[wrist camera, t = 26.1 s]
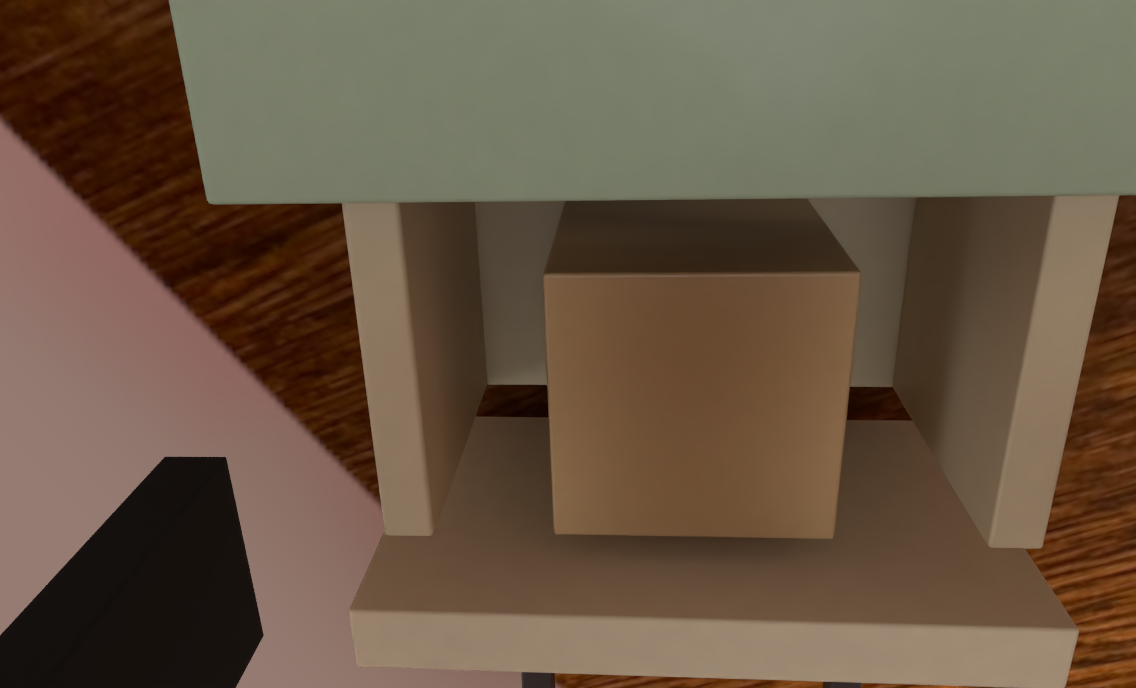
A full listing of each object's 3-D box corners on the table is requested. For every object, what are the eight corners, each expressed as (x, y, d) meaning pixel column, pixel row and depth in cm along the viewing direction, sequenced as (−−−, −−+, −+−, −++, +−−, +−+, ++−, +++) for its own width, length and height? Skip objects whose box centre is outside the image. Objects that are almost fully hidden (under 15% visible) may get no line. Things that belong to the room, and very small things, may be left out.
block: (572, 409, 19) (553, 535, 15) (565, 197, 17) (542, 273, 13) (790, 410, 19) (835, 541, 14) (806, 195, 17) (863, 271, 13)
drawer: (901, 676, 23) (1001, 948, 16) (459, 663, 23) (395, 916, 17) (1040, -231, 15) (1332, -372, 9) (374, -200, 16) (202, -309, 10)
